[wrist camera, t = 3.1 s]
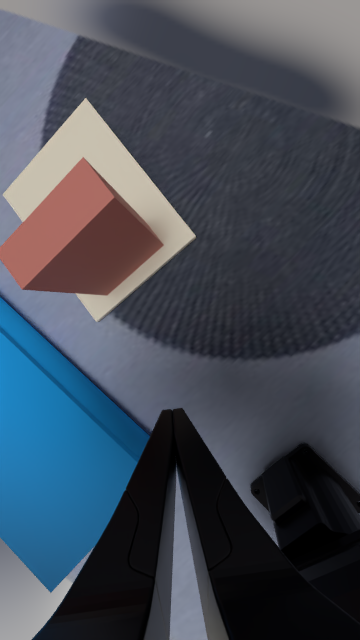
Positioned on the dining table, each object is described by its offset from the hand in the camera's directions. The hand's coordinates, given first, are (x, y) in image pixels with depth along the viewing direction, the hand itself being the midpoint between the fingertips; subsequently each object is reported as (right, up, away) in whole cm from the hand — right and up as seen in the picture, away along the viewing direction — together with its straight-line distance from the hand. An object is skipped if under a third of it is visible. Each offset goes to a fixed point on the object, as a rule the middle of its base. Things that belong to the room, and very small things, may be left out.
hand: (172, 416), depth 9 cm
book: (-15, -7, +16) cm, 23 cm away
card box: (-5, +9, +11) cm, 15 cm away
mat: (-8, +14, +12) cm, 20 cm away
